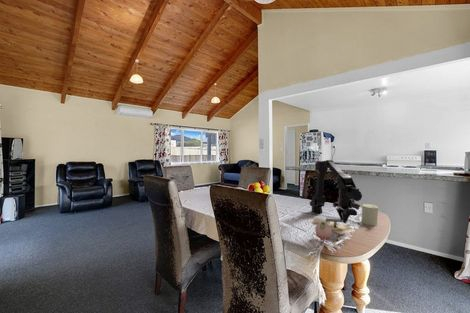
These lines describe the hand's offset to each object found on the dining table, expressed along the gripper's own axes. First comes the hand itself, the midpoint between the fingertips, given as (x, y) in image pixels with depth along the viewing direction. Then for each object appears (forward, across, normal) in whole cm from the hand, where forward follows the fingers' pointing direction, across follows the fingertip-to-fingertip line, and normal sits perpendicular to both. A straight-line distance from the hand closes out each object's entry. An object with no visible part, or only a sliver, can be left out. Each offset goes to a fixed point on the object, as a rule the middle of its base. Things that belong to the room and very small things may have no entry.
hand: (343, 222), depth 133 cm
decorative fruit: (+5, -14, +17) cm, 23 cm away
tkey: (+3, +1, +5) cm, 6 cm away
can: (+5, +13, -23) cm, 26 cm away
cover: (+3, +8, +10) cm, 13 cm away
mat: (+5, +3, +23) cm, 24 cm away
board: (+5, +3, +6) cm, 9 cm away
